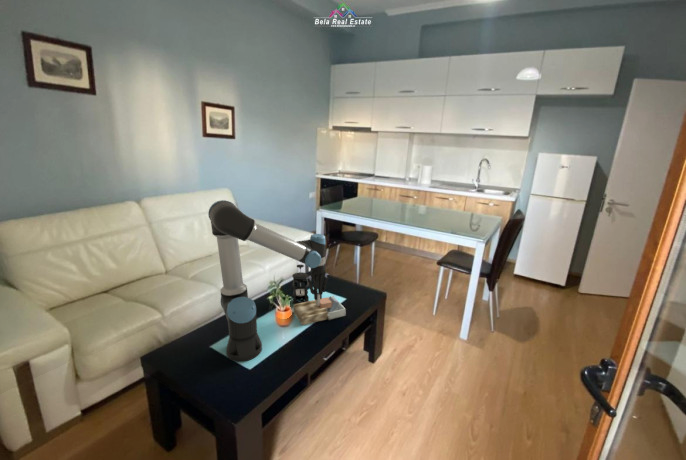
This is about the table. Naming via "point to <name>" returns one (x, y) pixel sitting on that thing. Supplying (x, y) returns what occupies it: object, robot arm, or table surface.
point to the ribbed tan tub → (309, 312)
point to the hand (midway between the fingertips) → (317, 304)
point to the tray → (336, 311)
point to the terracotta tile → (325, 303)
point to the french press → (299, 291)
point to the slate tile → (333, 304)
